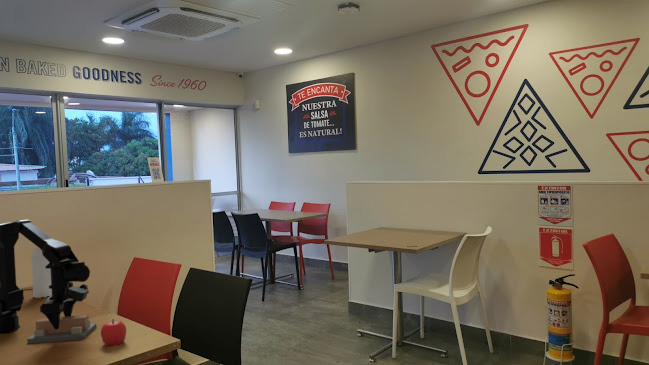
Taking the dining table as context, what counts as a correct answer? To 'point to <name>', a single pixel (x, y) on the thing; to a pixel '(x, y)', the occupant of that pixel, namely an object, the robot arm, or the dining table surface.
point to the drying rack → (60, 335)
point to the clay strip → (64, 324)
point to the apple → (113, 332)
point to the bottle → (40, 274)
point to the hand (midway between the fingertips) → (62, 324)
